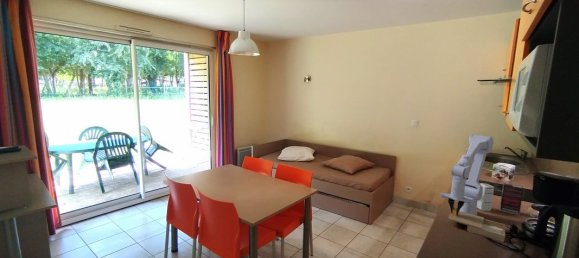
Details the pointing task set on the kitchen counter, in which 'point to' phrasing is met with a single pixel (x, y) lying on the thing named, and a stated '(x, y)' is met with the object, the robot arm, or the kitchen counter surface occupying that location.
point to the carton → (490, 230)
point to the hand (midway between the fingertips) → (454, 213)
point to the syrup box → (486, 197)
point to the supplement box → (511, 198)
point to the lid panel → (466, 219)
